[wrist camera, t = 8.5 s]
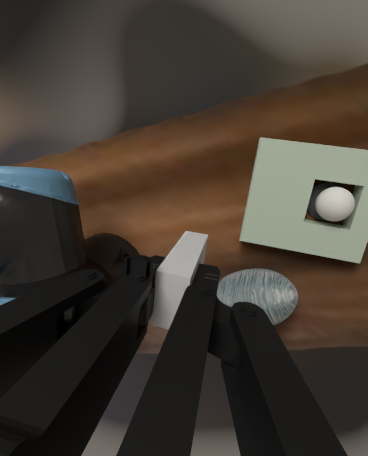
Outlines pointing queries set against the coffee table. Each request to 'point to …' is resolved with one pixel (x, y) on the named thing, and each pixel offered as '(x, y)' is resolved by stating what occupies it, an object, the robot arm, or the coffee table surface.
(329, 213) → the ball
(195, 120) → the coffee table surface
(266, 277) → the grey streaked egg
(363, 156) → the green board
